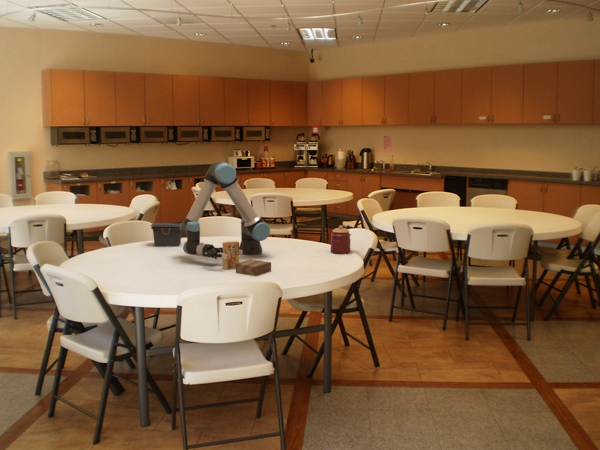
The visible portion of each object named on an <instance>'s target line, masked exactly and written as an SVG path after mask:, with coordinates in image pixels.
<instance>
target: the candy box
mask: <svg viewBox="0 0 600 450" xmlns="http://www.w3.org/2000/svg"><path fill="white" fill-rule="evenodd" d="M239 247H240V241H238V240H232V241H231V240H229V241H222V248H223V253H224V254H227V259H223V258H222V269H224V270H231V269H233V270H234V269H236V263H240V255H239Z"/></svg>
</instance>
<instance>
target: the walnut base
mask: <svg viewBox="0 0 600 450" xmlns="http://www.w3.org/2000/svg"><path fill="white" fill-rule="evenodd" d="M269 272H272V262H271V261H266V260H265V261H264V260H258V259H248V260H244V261H241V262H240V261H239V263H236V268H235V273H236V274H243V275H249V276H255V277H256V276H257V277H258V276H260V275H262V274H266V273H269Z"/></svg>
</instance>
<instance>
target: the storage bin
mask: <svg viewBox="0 0 600 450" xmlns="http://www.w3.org/2000/svg"><path fill="white" fill-rule="evenodd" d="M180 225H181V223H171V222H170V223H166V222H165V223H164V222H161V223H159V222H155V223H152V224H151V225H150V226H151V227H150V229H151V230H152V235H153V242H154V243H153V244H154V246H155V247H180V245H181V242H182V234H183V233H182V232H181V230H180Z"/></svg>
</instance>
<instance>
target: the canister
mask: <svg viewBox="0 0 600 450" xmlns="http://www.w3.org/2000/svg"><path fill="white" fill-rule="evenodd" d="M330 236H331V237H330V253H332V254H334V255H347V254H350V253H351V241H352V239H351V236H352V234H351V233H350V230H349V229H348V228H345V227H344V226H343V225H339V226H338V227H337V228H336V227H335V228H334V229H332V231H331V233H330Z"/></svg>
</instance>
